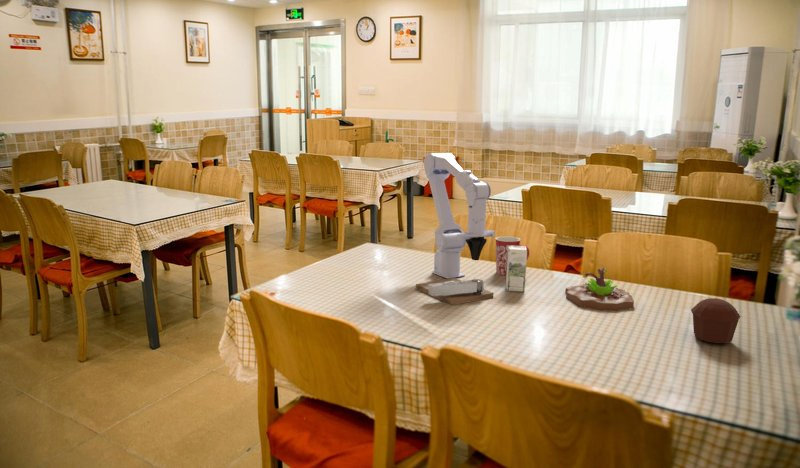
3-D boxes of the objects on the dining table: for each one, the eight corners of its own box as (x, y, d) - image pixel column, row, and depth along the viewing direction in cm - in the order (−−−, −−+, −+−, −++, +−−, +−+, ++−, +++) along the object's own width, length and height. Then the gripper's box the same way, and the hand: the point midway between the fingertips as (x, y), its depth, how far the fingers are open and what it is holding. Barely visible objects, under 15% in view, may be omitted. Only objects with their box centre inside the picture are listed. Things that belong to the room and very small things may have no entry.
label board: (415, 288, 192) (416, 282, 191) (454, 282, 200) (454, 276, 200) (452, 304, 175) (452, 298, 175) (493, 297, 183) (493, 291, 183)
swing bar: (479, 288, 184) (479, 278, 184) (485, 291, 181) (485, 281, 180) (428, 293, 178) (428, 283, 177) (432, 296, 175) (433, 286, 174)
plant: (578, 310, 173) (580, 274, 171) (558, 291, 192) (561, 258, 190) (644, 311, 174) (648, 274, 171) (618, 292, 193) (621, 259, 191)
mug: (489, 275, 209) (490, 238, 207) (500, 270, 217) (502, 235, 214) (521, 281, 202) (523, 243, 200) (532, 276, 209) (534, 239, 207)
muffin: (694, 326, 160) (698, 291, 158) (740, 336, 153) (745, 299, 151) (683, 338, 151) (687, 301, 149) (731, 349, 144) (736, 310, 142)
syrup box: (522, 287, 195) (525, 245, 192) (524, 292, 189) (527, 249, 186) (505, 287, 195) (507, 244, 192) (507, 292, 189) (509, 248, 187)
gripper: (467, 222, 183) (465, 264, 185) (501, 219, 190) (499, 259, 193) (453, 219, 189) (452, 260, 191) (487, 216, 196) (486, 255, 199)
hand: (475, 259), depth 193 cm, fingers closed
